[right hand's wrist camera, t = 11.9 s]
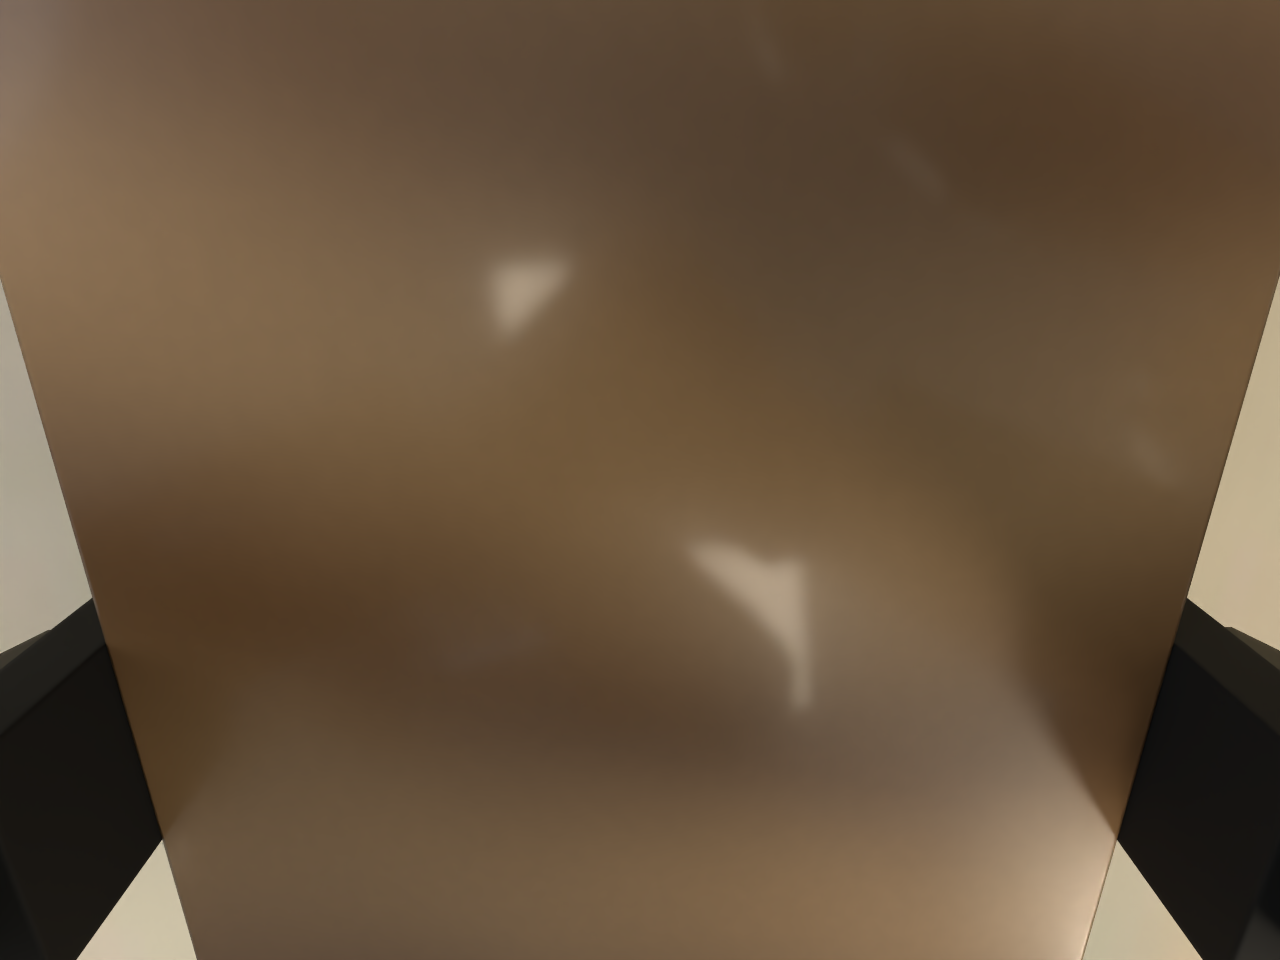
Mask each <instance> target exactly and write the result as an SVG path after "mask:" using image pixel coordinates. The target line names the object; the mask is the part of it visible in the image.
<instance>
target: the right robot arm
mask: <svg viewBox="0 0 1280 960" xmlns="http://www.w3.org/2000/svg"><path fill="white" fill-rule="evenodd" d="M161 840H162V836H161V833H160V829H159V826H158V822H157V819H156V816H155V812H154V809H153V805H152V802H151V798H150V795H149V791H148V788H147V784H146V781H145V777H144V774H143V770H142V767H141V764H140V760H139V757H138V753H137V750H136V746H135V743H134V739H133V736H132V732H131V729H130V725H129V722H128V719H127V715H126V712H125V708H124V705H123V701H122V698H121V694H120V691H119V687H118V684H117V680H116V677H115V673H114V670H113V667H112V663H111V660H110V656H109V653H108V649H107V646H106V642H105V639H104V635H103V632H102V628H101V625H100V622H99V618H98V615H97V611H96V608H95V604H94V601H93V598H91V599H90V600H89V601H88V602H86V603H85V604H84V605H82V606H81V607H80V608H79V609H77V610H76V611H75V612H73V613H72V614H71V615H70V616H68V617H67V618H66V619H64V620H63V621H62V622H61V623H59V624H58V625H57V626H55V627H54V628H53V629H52V630H47V631H45V632H43V633H41V634H39V635H37V636H35V637H33V638H31V639H29V640H27V641H25V642H23V643H21V644H19V645H17V646H15V647H13V648H11V649H9V650H7V651H5V652H3V653H1V654H0V960H76V959H77V958H78V957H79V955H80V954H81V952H82V951H83V950H84V948H85V947H86V945H87V944H88V943H89V941H90V940H91V938H92V937H93V936H94V934H95V933H96V931H97V930H98V929H99V927H100V926H101V924H102V923H103V922H104V920H105V919H106V917H107V916H108V915H109V913H110V912H111V910H112V909H113V908H114V906H115V905H116V903H117V902H118V901H119V899H120V898H121V896H122V895H123V894H124V892H125V891H126V889H127V888H128V887H129V885H130V884H131V882H132V881H133V880H134V878H135V877H136V875H137V874H138V873H139V871H140V870H141V868H142V867H143V866H144V864H145V863H146V861H147V860H148V859H149V857H150V856H151V854H152V853H153V852H154V850H155V849H156V847H157V846H158V845H159V843H160V842H161ZM1117 840H1118V842H1119V843H1120V844H1121V846H1122V847H1123V849H1124V850H1125V851H1126V853H1127V854H1128V856H1129V857H1130V858H1131V860H1132V861H1133V863H1134V864H1135V865H1136V867H1137V868H1138V870H1139V871H1140V872H1141V874H1142V875H1143V877H1144V878H1145V879H1146V881H1147V882H1148V884H1149V885H1150V886H1151V888H1152V889H1153V891H1154V892H1155V893H1156V895H1157V896H1158V898H1159V899H1160V900H1161V902H1162V903H1163V905H1164V906H1165V907H1166V909H1167V910H1168V912H1169V913H1170V914H1171V916H1172V917H1173V919H1174V920H1175V921H1176V923H1177V924H1178V926H1179V927H1180V928H1181V930H1182V931H1183V933H1184V934H1185V935H1186V937H1187V938H1188V940H1189V941H1190V942H1191V944H1192V945H1193V947H1194V948H1195V949H1196V951H1197V952H1198V954H1199V955H1200V956H1201V958H1202V959H1203V960H1280V651H1279V650H1277V649H1275V648H1273V647H1271V646H1269V645H1267V644H1265V643H1263V642H1261V641H1259V640H1257V639H1255V638H1253V637H1251V636H1249V635H1247V634H1245V633H1242V632H1240V631H1238V630H1236V629H1234V628H1232V627H1224V626H1222V625H1221V624H1220V623H1219V622H1217V621H1216V620H1215V619H1213V618H1212V617H1211V616H1210V615H1208V614H1207V613H1206V612H1204V611H1203V610H1202V609H1201V608H1199V607H1198V606H1197V605H1195V604H1194V603H1193V602H1192V601H1190V600H1189V599H1188V598H1186V602H1185V605H1184V609H1183V612H1182V616H1181V619H1180V623H1179V626H1178V630H1177V633H1176V637H1175V640H1174V643H1173V647H1172V650H1171V654H1170V657H1169V661H1168V664H1167V668H1166V671H1165V675H1164V678H1163V682H1162V685H1161V689H1160V692H1159V696H1158V699H1157V702H1156V706H1155V709H1154V713H1153V716H1152V720H1151V723H1150V727H1149V730H1148V734H1147V737H1146V741H1145V744H1144V748H1143V751H1142V755H1141V758H1140V761H1139V765H1138V768H1137V772H1136V775H1135V779H1134V782H1133V786H1132V789H1131V793H1130V796H1129V800H1128V803H1127V807H1126V810H1125V813H1124V817H1123V820H1122V824H1121V827H1120V831H1119V834H1118V838H1117Z"/></svg>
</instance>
